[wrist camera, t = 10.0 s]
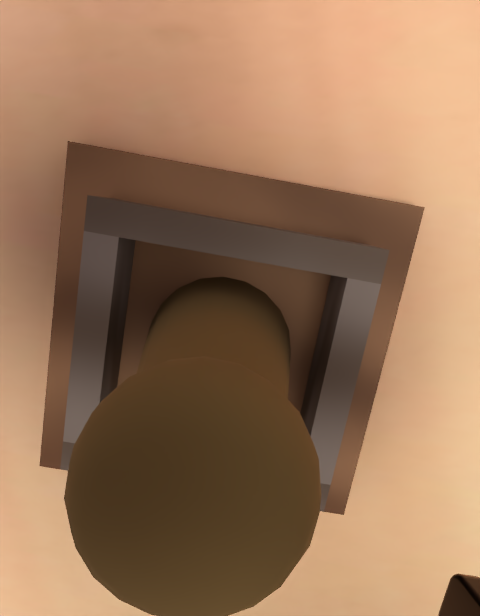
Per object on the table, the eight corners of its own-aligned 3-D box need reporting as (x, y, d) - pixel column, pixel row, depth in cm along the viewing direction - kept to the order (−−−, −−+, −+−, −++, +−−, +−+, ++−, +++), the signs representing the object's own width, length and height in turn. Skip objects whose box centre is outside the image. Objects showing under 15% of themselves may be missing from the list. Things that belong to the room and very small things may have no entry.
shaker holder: (338, 500, 21) (357, 557, 17) (49, 453, 20) (10, 502, 17) (414, 207, 18) (455, 206, 14) (78, 145, 17) (37, 128, 14)
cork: (118, 326, 18) (-64, 493, 7) (240, 247, 17) (238, 303, 7) (199, 437, 19) (144, 727, 8) (317, 368, 18) (424, 586, 8)
